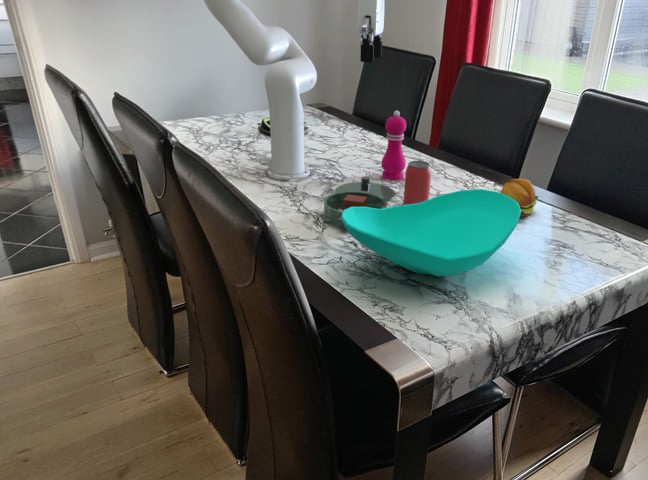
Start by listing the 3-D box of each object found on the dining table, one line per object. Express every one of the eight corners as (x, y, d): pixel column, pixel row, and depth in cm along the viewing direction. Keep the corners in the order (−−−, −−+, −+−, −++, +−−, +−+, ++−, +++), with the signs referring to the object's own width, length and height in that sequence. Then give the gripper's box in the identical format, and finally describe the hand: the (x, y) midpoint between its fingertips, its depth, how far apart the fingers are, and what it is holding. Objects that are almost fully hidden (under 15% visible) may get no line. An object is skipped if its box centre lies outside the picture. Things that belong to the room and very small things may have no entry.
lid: (327, 201, 153) (327, 183, 151) (345, 182, 167) (345, 165, 165) (386, 210, 150) (388, 191, 148) (400, 189, 164) (401, 172, 162)
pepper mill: (402, 183, 169) (407, 114, 159) (378, 181, 170) (381, 112, 160) (406, 176, 175) (411, 109, 165) (383, 173, 176) (386, 106, 167)
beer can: (410, 214, 149) (414, 169, 143) (398, 205, 154) (401, 161, 148) (432, 210, 152) (436, 166, 146) (419, 202, 157) (423, 159, 151)
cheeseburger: (536, 206, 158) (543, 175, 151) (530, 229, 151) (537, 197, 144) (500, 200, 160) (504, 169, 154) (492, 222, 153) (497, 190, 146)
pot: (311, 230, 137) (311, 212, 134) (337, 200, 154) (338, 184, 152) (374, 239, 134) (375, 222, 132) (393, 208, 152) (394, 192, 149)
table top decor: (465, 228, 143) (472, 176, 136) (542, 277, 122) (554, 219, 115) (317, 256, 125) (316, 198, 118) (377, 318, 104) (381, 253, 98)
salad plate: (292, 122, 225) (292, 110, 223) (321, 132, 214) (321, 120, 212) (250, 129, 213) (249, 116, 211) (278, 140, 202) (278, 127, 200)
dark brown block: (342, 218, 143) (343, 199, 140) (347, 213, 146) (348, 194, 144) (362, 221, 142) (363, 202, 139) (366, 215, 145) (367, 196, 143)
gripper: (366, -18, 147) (364, 54, 155) (349, -17, 132) (348, 63, 140) (395, -16, 146) (392, 56, 154) (381, -15, 131) (378, 65, 139)
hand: (371, 59), depth 147 cm, fingers open, 9 cm apart
